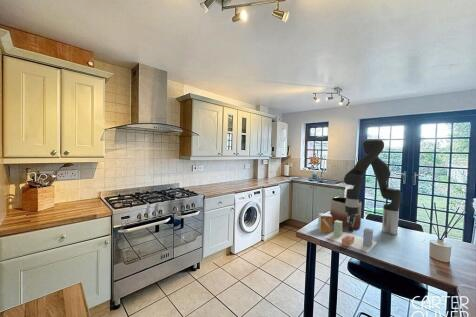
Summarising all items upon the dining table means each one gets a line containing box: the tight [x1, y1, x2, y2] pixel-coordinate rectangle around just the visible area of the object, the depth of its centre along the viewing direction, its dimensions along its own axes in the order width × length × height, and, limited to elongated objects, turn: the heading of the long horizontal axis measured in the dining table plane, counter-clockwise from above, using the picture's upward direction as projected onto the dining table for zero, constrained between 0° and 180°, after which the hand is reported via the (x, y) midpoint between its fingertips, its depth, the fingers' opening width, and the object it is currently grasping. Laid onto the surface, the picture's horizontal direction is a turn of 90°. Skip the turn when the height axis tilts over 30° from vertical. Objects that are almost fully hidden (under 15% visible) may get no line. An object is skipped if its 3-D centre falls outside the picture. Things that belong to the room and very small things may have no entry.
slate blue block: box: [362, 227, 374, 247], centre depth 127 cm, size 4×4×10 cm
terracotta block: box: [341, 233, 354, 248], centre depth 129 cm, size 4×4×10 cm
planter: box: [329, 196, 362, 230], centre depth 164 cm, size 22×22×20 cm
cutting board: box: [324, 230, 378, 253], centre depth 134 cm, size 20×26×1 cm
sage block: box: [333, 220, 343, 237], centre depth 140 cm, size 4×4×10 cm
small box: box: [317, 212, 333, 233], centre depth 148 cm, size 8×6×13 cm
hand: (350, 231), depth 131 cm, fingers closed
